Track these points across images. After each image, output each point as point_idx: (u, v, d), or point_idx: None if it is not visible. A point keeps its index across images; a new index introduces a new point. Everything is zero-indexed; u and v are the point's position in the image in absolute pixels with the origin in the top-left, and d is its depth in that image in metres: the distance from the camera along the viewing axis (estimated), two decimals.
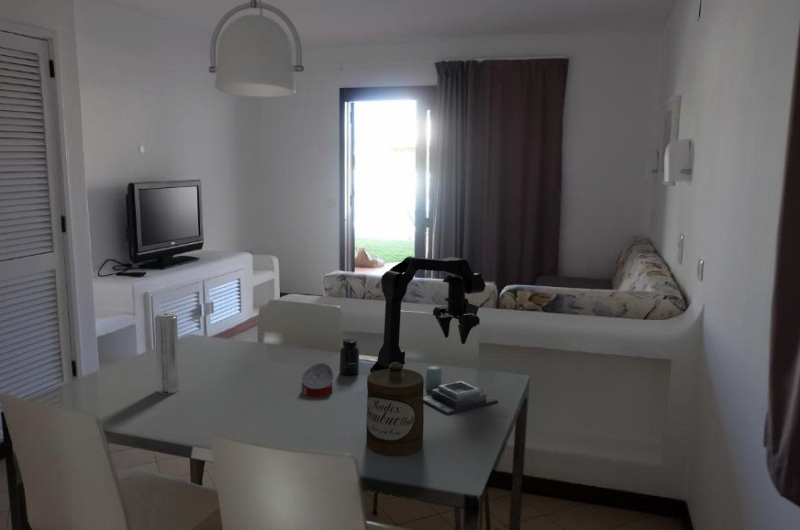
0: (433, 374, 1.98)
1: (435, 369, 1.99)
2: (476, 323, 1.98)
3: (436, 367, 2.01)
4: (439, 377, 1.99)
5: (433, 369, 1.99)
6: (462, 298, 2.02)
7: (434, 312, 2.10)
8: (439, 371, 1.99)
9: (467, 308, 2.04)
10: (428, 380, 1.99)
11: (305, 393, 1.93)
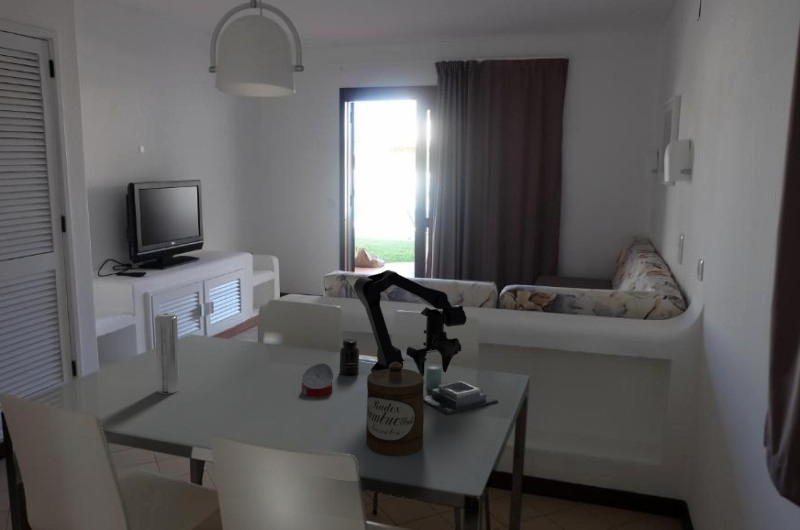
0: (433, 374, 1.98)
1: (435, 369, 1.99)
2: (413, 356, 1.93)
3: (436, 367, 2.01)
4: (439, 377, 1.99)
5: (433, 369, 1.99)
6: (428, 331, 1.97)
7: None
8: (439, 371, 1.99)
9: (432, 343, 1.95)
10: (428, 380, 1.99)
11: (305, 393, 1.93)
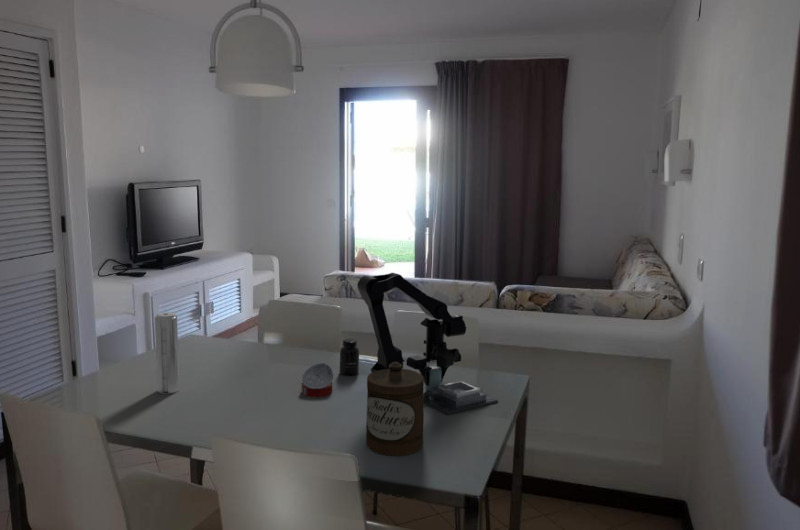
0: (433, 373, 1.98)
1: (435, 369, 1.99)
2: (413, 366, 1.94)
3: (436, 367, 2.01)
4: (439, 377, 1.99)
5: (433, 369, 1.99)
6: (428, 341, 1.97)
7: None
8: (439, 371, 1.99)
9: (432, 354, 1.96)
10: None
11: (305, 393, 1.93)
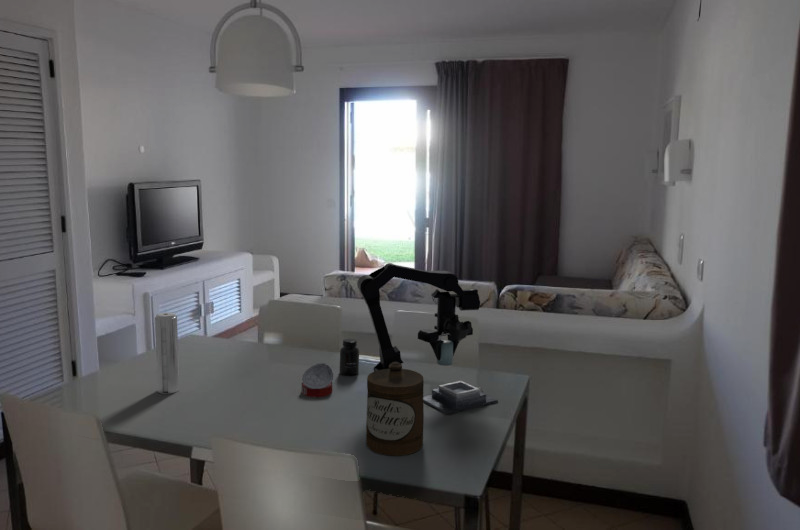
0: (445, 347, 1.92)
1: (447, 343, 1.94)
2: (425, 340, 1.88)
3: (447, 341, 1.96)
4: (451, 351, 1.93)
5: (445, 343, 1.94)
6: (440, 314, 1.91)
7: None
8: (451, 344, 1.93)
9: (444, 326, 1.90)
10: None
11: (305, 393, 1.93)
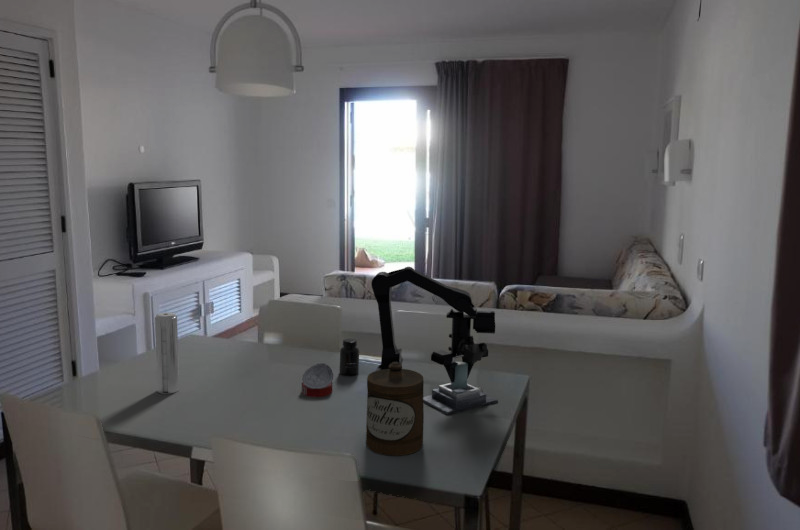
0: (459, 369, 1.87)
1: (461, 364, 1.88)
2: (438, 362, 1.82)
3: (462, 362, 1.90)
4: (465, 373, 1.88)
5: (459, 365, 1.88)
6: (454, 335, 1.86)
7: None
8: (465, 367, 1.87)
9: (458, 348, 1.84)
10: None
11: (305, 393, 1.93)
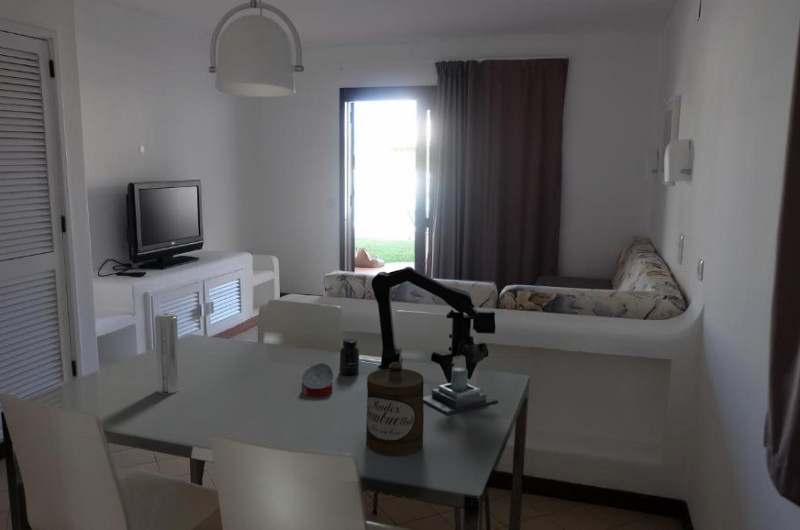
0: (459, 376, 1.87)
1: (461, 371, 1.88)
2: (438, 362, 1.82)
3: (462, 369, 1.90)
4: (465, 379, 1.88)
5: (459, 371, 1.88)
6: (454, 335, 1.86)
7: None
8: (465, 373, 1.88)
9: (458, 348, 1.84)
10: (453, 383, 1.88)
11: (305, 393, 1.93)
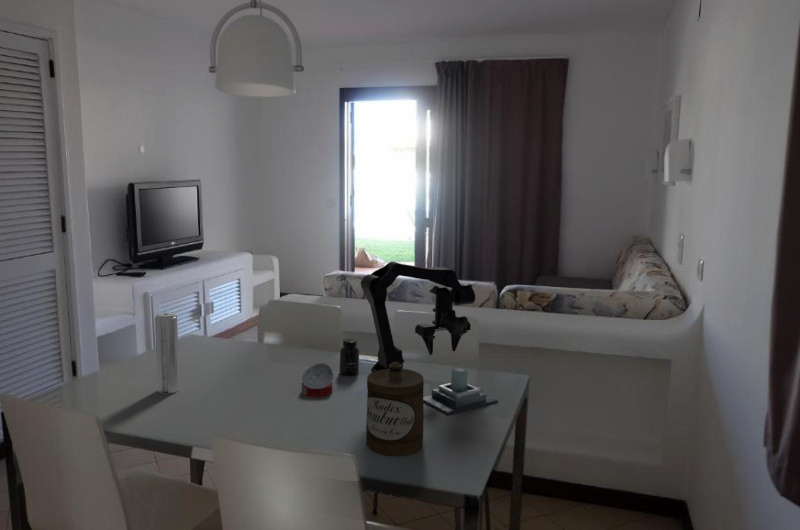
0: (459, 376, 1.87)
1: (461, 371, 1.88)
2: (421, 333, 1.93)
3: (462, 369, 1.90)
4: (465, 379, 1.88)
5: (459, 371, 1.88)
6: (437, 309, 1.97)
7: None
8: (465, 373, 1.88)
9: (440, 321, 1.95)
10: (453, 383, 1.88)
11: (305, 393, 1.93)
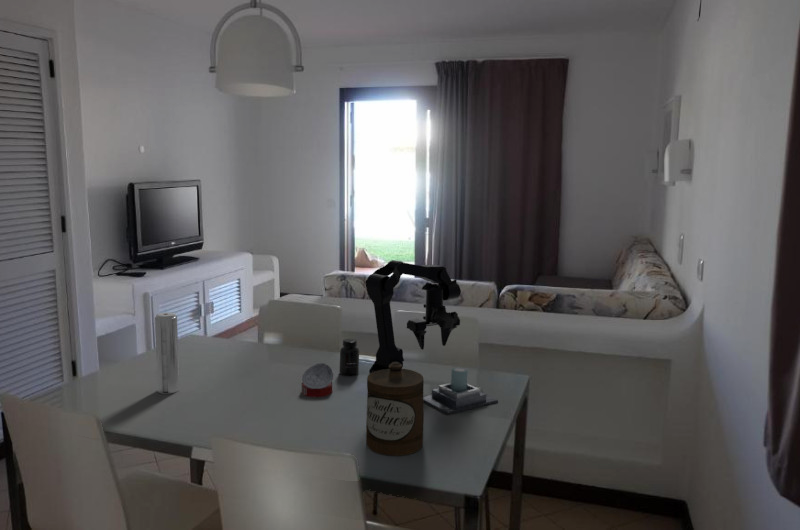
0: (459, 376, 1.87)
1: (461, 371, 1.88)
2: (413, 329, 1.99)
3: (462, 369, 1.90)
4: (465, 379, 1.88)
5: (459, 371, 1.88)
6: (428, 305, 2.03)
7: None
8: (465, 373, 1.88)
9: (431, 316, 2.01)
10: (453, 383, 1.88)
11: (305, 393, 1.93)
